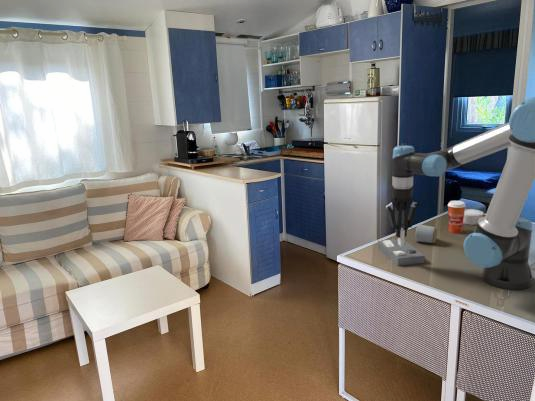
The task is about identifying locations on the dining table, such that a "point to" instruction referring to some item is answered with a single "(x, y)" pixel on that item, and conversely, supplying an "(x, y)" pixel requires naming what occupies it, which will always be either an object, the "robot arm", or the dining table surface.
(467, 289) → the dining table surface
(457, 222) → the paper cup
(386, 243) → the rocker
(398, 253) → the rocker
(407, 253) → the rocker switch box
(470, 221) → the ramekin
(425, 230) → the ceramic mug
